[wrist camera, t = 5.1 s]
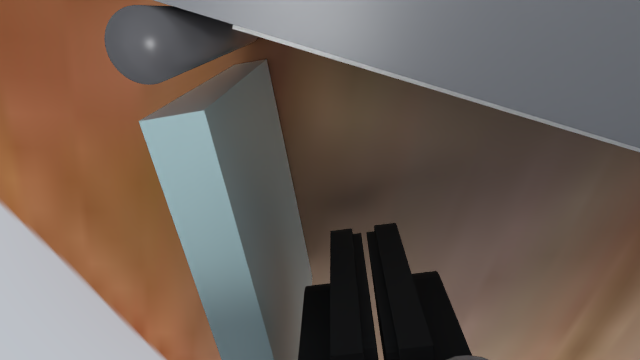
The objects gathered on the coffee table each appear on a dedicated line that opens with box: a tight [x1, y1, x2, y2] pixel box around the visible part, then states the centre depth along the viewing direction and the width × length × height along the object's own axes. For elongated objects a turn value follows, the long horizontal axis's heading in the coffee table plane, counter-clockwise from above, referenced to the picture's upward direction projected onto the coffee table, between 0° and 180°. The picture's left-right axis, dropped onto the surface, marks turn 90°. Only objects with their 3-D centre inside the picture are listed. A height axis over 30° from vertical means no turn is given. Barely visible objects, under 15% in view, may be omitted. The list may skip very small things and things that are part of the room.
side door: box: [139, 59, 312, 360], centre depth 11 cm, size 8×2×7 cm, turn 10°
